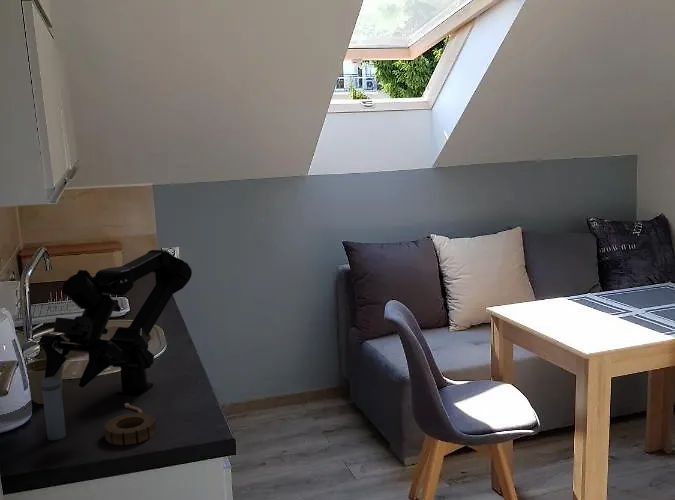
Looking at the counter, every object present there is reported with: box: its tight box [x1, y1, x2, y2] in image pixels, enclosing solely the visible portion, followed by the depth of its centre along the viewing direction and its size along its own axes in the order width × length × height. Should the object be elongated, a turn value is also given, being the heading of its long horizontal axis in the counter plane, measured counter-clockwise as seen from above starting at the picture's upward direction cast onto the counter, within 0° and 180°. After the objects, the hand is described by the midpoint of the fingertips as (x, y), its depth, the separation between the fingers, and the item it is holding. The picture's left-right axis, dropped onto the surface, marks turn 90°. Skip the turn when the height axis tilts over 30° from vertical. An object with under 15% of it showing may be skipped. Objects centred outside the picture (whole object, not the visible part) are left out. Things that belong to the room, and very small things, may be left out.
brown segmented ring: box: [104, 411, 157, 446], centre depth 144 cm, size 10×10×2 cm
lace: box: [124, 402, 144, 413], centre depth 153 cm, size 12×3×1 cm, turn 26°
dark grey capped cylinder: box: [41, 376, 67, 441], centre depth 143 cm, size 4×4×12 cm
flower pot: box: [25, 358, 66, 405], centre depth 163 cm, size 9×9×9 cm
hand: (63, 384), depth 145 cm, fingers open, 9 cm apart
